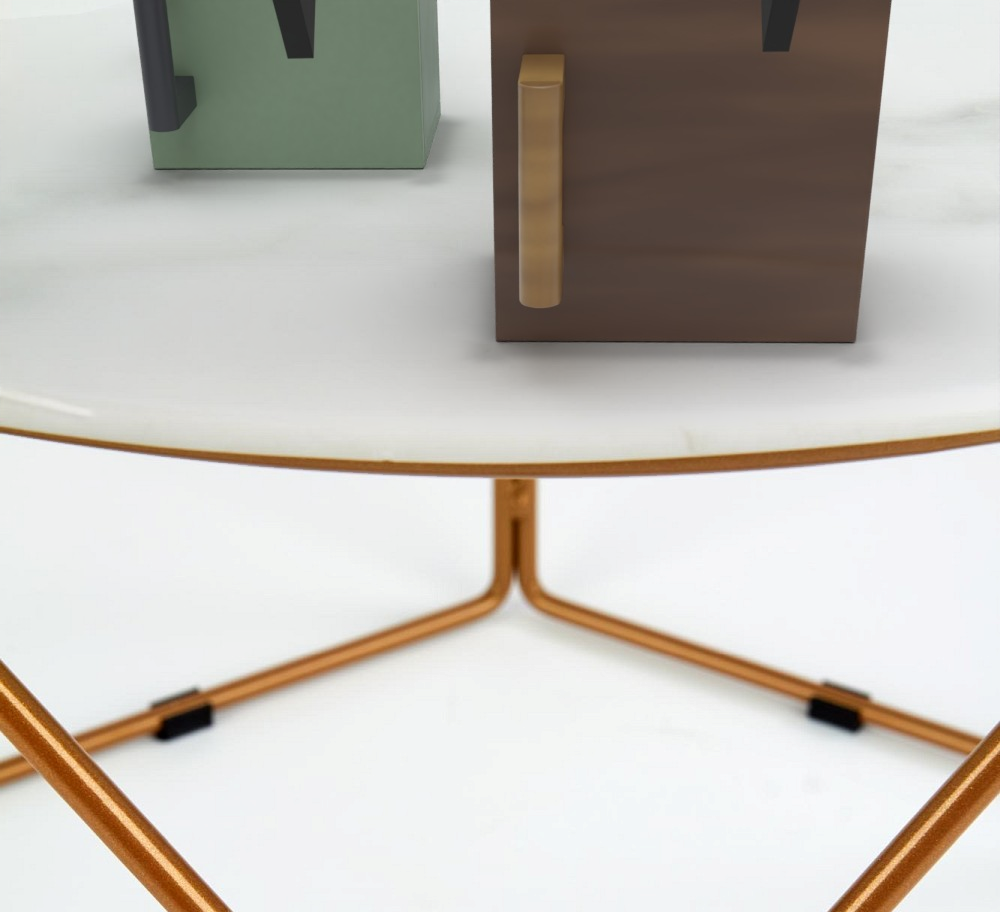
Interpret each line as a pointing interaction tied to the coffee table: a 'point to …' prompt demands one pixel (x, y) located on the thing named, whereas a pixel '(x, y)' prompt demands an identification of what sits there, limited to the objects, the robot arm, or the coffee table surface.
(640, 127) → the near door
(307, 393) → the coffee table surface
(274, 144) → the far door
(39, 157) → the coffee table surface
